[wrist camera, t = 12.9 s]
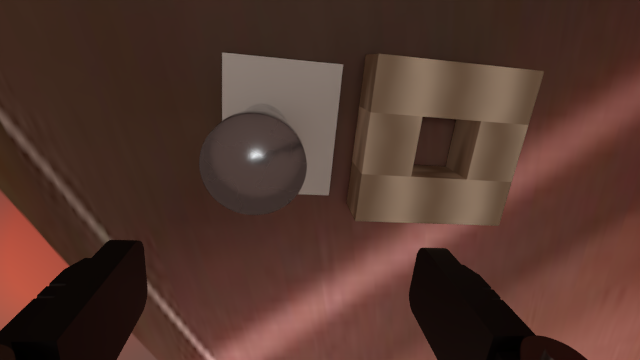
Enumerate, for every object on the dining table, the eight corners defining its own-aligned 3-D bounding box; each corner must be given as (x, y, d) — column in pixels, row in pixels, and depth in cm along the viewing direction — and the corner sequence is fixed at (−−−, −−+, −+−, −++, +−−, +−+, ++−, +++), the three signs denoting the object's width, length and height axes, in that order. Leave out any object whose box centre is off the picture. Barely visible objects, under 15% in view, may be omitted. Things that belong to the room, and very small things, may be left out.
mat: (341, 64, 29) (343, 64, 28) (327, 193, 33) (328, 195, 32) (223, 52, 28) (222, 52, 27) (223, 188, 31) (222, 190, 31)
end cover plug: (299, 97, 29) (310, 118, 18) (294, 163, 31) (302, 216, 20) (228, 91, 28) (197, 109, 18) (227, 159, 30) (200, 213, 20)
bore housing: (512, 70, 31) (544, 71, 27) (475, 208, 36) (498, 225, 32) (365, 54, 29) (378, 53, 25) (346, 203, 34) (355, 220, 30)
